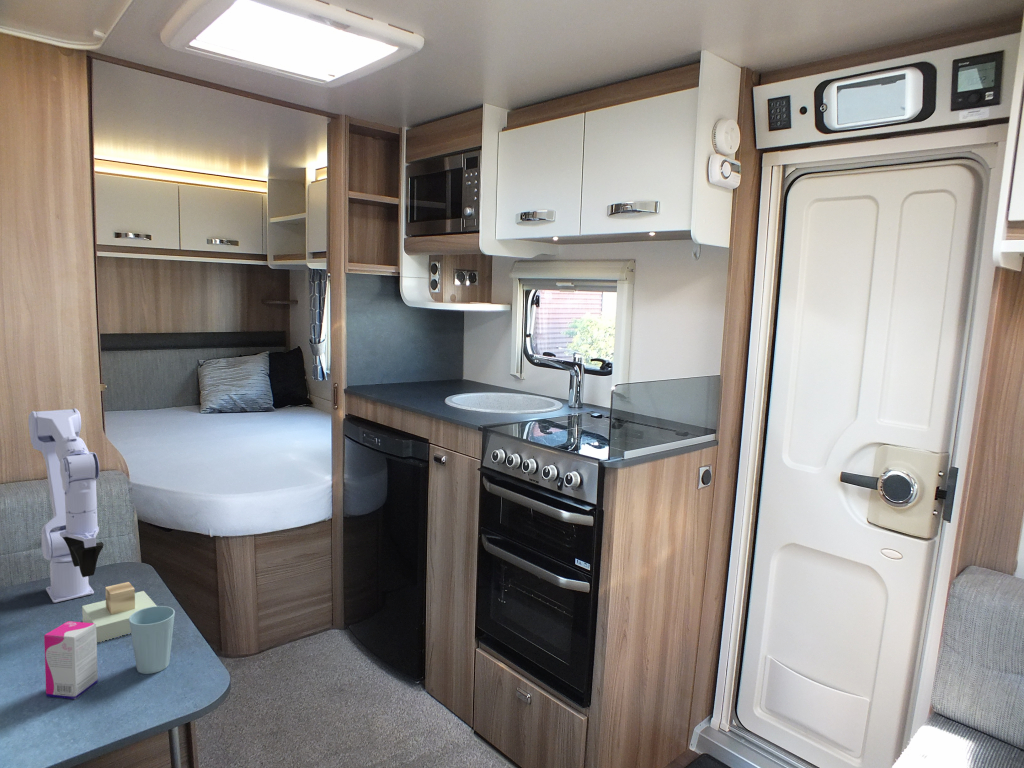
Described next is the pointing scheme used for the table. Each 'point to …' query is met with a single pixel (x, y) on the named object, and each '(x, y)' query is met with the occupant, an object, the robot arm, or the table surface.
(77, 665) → the supplement box
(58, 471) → the robot arm
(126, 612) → the green box
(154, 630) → the cup
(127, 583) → the birch block
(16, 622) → the table surface
